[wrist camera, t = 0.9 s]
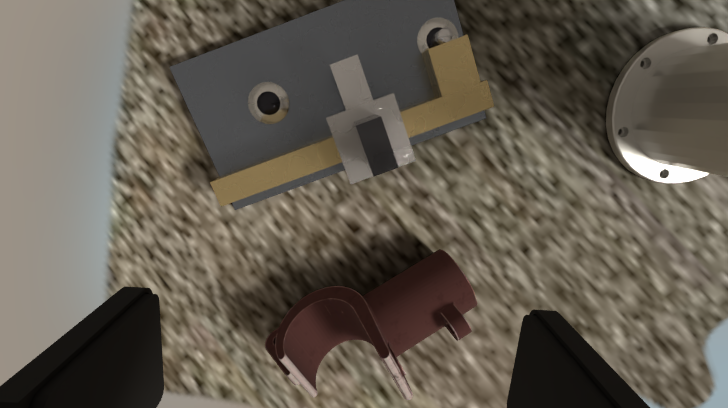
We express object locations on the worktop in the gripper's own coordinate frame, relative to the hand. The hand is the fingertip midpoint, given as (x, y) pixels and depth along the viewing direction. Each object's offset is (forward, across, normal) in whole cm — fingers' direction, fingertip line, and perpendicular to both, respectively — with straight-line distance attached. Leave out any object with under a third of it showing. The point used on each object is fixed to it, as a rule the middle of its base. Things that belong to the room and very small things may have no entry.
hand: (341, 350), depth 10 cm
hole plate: (+25, +2, -7) cm, 26 cm away
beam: (+24, +1, -5) cm, 24 cm away
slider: (+24, -1, -5) cm, 24 cm away
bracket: (+25, -2, +12) cm, 28 cm away
